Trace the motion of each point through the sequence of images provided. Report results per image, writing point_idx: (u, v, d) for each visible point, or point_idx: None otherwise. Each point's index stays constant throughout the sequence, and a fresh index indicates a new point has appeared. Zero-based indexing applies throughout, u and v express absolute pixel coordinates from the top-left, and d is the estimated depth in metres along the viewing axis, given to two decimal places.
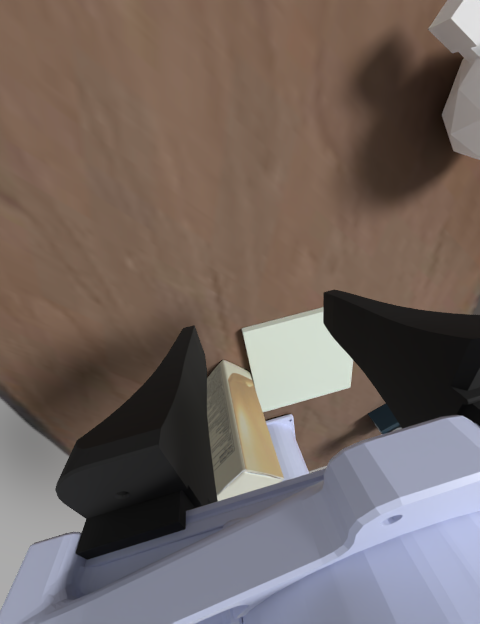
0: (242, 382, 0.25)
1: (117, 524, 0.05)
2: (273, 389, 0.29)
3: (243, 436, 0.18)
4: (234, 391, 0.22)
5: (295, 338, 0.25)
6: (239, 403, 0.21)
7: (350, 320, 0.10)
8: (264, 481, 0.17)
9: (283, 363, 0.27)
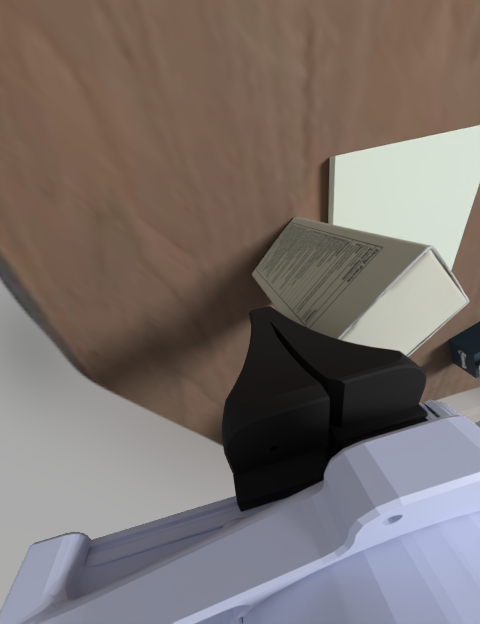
0: None
1: (268, 478, 0.05)
2: None
3: None
4: None
5: (400, 181, 0.18)
6: None
7: None
8: (444, 295, 0.09)
9: (375, 229, 0.19)
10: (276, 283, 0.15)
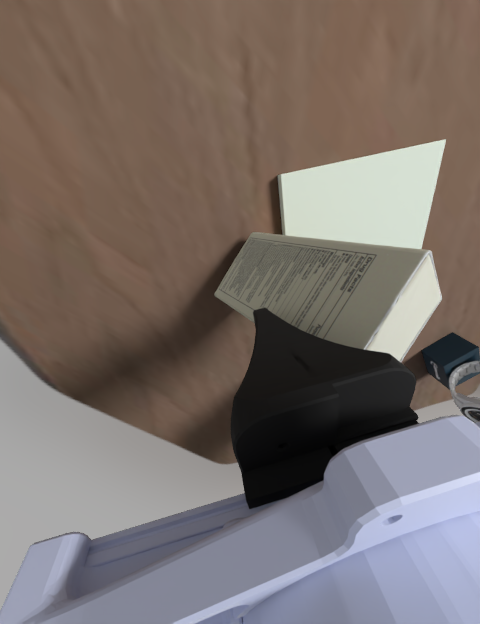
0: None
1: (277, 476, 0.05)
2: None
3: None
4: None
5: (351, 197, 0.18)
6: None
7: None
8: (431, 295, 0.10)
9: None
10: (254, 302, 0.14)
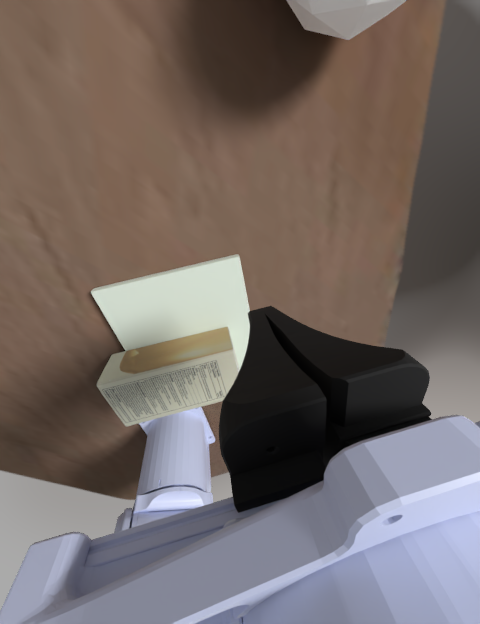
0: (133, 359, 0.21)
1: (265, 479, 0.05)
2: None
3: (204, 352, 0.20)
4: (151, 365, 0.20)
5: (166, 302, 0.21)
6: (166, 359, 0.20)
7: (276, 340, 0.10)
8: None
9: (161, 335, 0.22)
10: (171, 407, 0.22)
